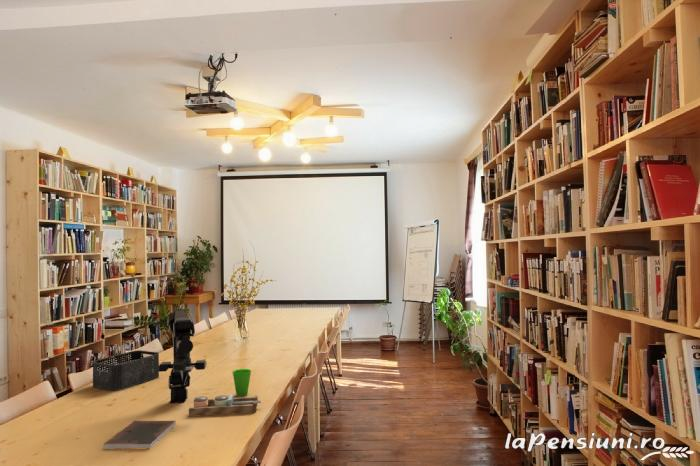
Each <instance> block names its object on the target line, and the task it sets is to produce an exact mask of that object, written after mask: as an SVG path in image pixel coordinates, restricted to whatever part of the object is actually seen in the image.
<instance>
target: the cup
mask: <svg viewBox="0 0 700 466" xmlns="http://www.w3.org/2000/svg"><path fill="white" fill-rule="evenodd" d="M251 373H252V370H251V369H249V368H239V369H235V370H232V372H231V374H232V375H233V382H234V388H235V395H236V396H237V397H244V396H245V397H246V396H247V395H248V394H249V393H248V392H249V387H250V380H251V379H250V378H251Z"/></svg>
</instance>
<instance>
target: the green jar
mask: <svg viewBox="0 0 700 466" xmlns="http://www.w3.org/2000/svg"><path fill="white" fill-rule="evenodd" d="M213 399H214V406H228V400H229V396H228V395H226V394H223V395H222V394H221V395H217V396H215V397H214V398H213Z"/></svg>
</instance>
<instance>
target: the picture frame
mask: <svg viewBox="0 0 700 466" xmlns="http://www.w3.org/2000/svg"><path fill="white" fill-rule="evenodd" d="M176 422H177V421H176V420H133V421H132V422H130V423H129V424H128V425H126V426H125V427H124V428H123V429H122V430H120V431H118V432H117V433H116V434H115V435H113V436H112V437H111V438H109V439H108V440H106V441H105V442H104V443H102V444H103V445H102V446H103V447H102V449H103V450H112V449H111V448H115V449H114V450H126V449H125V448H151V447H152V446H153V445H154V444H155V443H156V442H157V441H158V440H159V441H161V439H163V438H164V437H165V436H166V435H167V434H168V433H169V432H170V431H171V430H172V429H173V428H175V427H176V425H177V423H176ZM169 430H170V431H169ZM168 431H169V432H168ZM167 432H168V433H167ZM166 433H167V434H166ZM165 434H166V435H165ZM164 435H165V436H164ZM163 436H164V437H163ZM159 441H158V442H159ZM158 442H157V443H158ZM157 443H156V444H157ZM156 444H155V445H156ZM155 445H154V446H155ZM154 446H153V447H154ZM153 447H152V448H153ZM116 448H117V449H116ZM118 448H119V449H118ZM120 448H121V449H120ZM152 448H151V449H152Z"/></svg>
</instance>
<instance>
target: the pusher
mask: <svg viewBox="0 0 700 466" xmlns="http://www.w3.org/2000/svg"><path fill="white" fill-rule="evenodd" d="M228 398H229V400H228V406H232V405H233V404H250V403H253V402H254V401H242V402H233V398H234V393H230V394H229V396H228ZM257 403H258V404H261V399H260V400H258V401H257Z"/></svg>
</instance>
